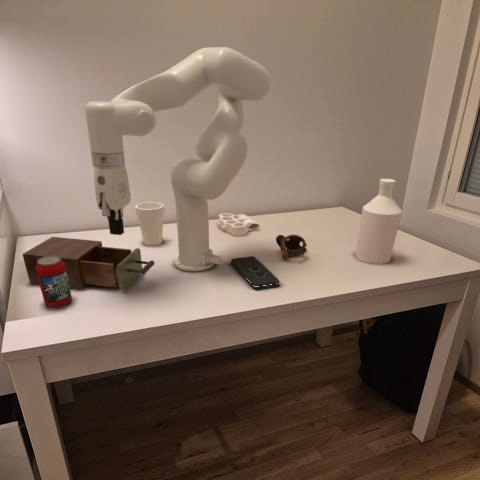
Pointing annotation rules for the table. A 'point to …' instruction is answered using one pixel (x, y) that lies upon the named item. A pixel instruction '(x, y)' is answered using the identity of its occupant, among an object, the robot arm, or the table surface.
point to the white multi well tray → (237, 223)
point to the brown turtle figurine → (291, 246)
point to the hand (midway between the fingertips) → (117, 233)
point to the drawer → (112, 267)
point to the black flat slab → (254, 272)
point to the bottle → (379, 226)
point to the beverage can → (53, 281)
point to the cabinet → (61, 257)
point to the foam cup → (151, 222)
